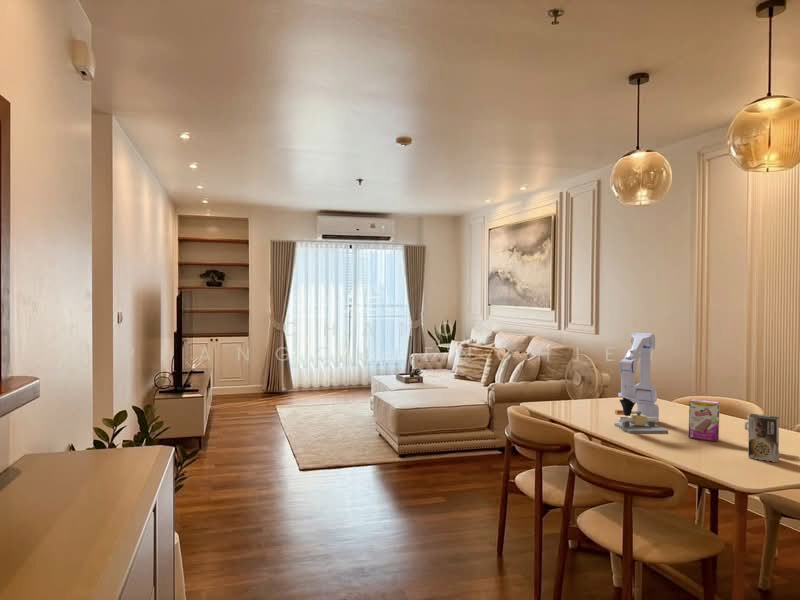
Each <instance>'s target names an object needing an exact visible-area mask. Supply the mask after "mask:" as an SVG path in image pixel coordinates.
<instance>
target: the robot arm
mask: <svg viewBox="0 0 800 600" xmlns="http://www.w3.org/2000/svg"><path fill="white" fill-rule="evenodd" d="M630 342H631V348H630V349H628V350H627V351H626V354H625V355H624V358H622V359H621V360H619V363H618V364H619V365H618V368H619V369H618V370H619V375H620V392H618V393H617V396H618V398H621V399H619V402H620V403H621V406H622V410H623V411H624V415H623V416H624V417H630V416H631V411H633V408H634V406H635V404H636V411H640V412H642V413H641V414H642V415H644V416H647V417H658V418H659V417H660V416H659V415H660V408H659V405H658V403H656V402H657V399H658V393H657V387H656V386H655V385H653V384H652V383H651V363H652V361H651V357H652V355H651V354H652V351H653V350H655V348H656V335H655V334H654V333H648V332H647V333H646V332H635V331H633V332H632V334H631V335H630ZM638 362H639V382H638V383H637V384H636V383H635V379H636V377H635V376H636V375H635V374H636V373H637V369H638ZM659 419H660V418H659ZM658 423H660V420H659V422H658Z"/></svg>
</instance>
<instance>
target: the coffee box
mask: <svg viewBox="0 0 800 600" xmlns="http://www.w3.org/2000/svg"><path fill="white" fill-rule="evenodd" d="M779 417H780V416H774V415H767V414H765V415H764V414H759V413H758V414H757V413H749V415H748V416H747V422H748V424H747V427H748V430H749V432H748V446H747V447H748V450H747V451H748V453H747V454H748V457H749V458H748V457H747V458H748V459H751V458H754V459H753V460H757V459H759V460H758V461H763V460H766V461H765V462H769V461H772V462H771V463H775V462H777V461H778V462H779V460H780V455H779V454H780V453H779V452H780V450H779V447H780V445H779V442H780V441H779V439H780V436H779V435H780V433H779V431H780V428H779V426H780V425H779V423H780V422H779V421H780V418H779ZM748 430H747V431H748ZM778 462H777V463H778Z"/></svg>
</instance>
